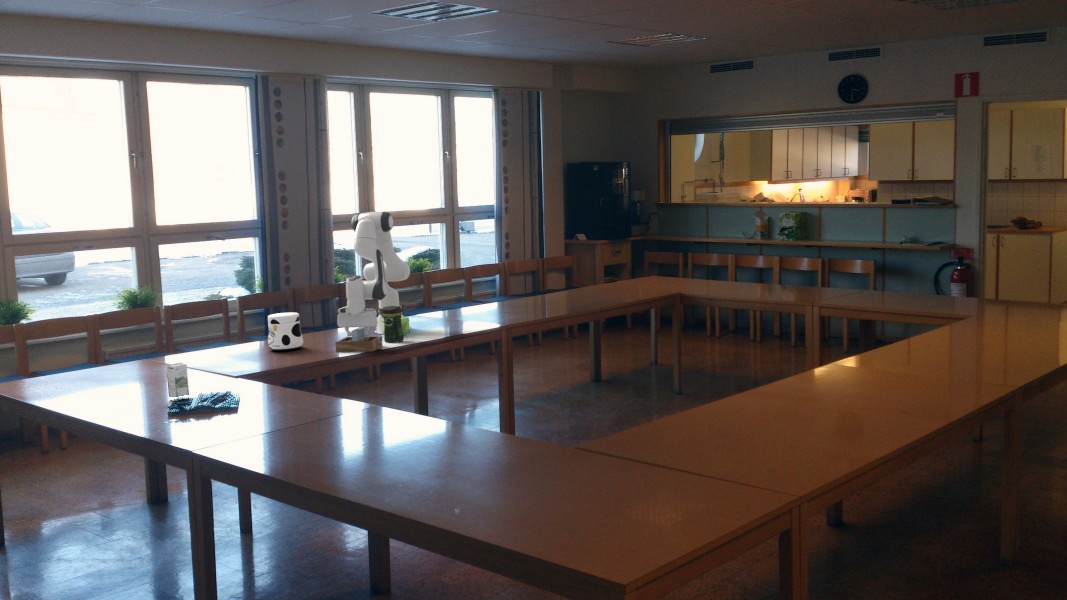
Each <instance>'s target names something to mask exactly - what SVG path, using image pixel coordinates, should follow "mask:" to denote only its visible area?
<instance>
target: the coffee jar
mask: <svg viewBox="0 0 1067 600" xmlns="http://www.w3.org/2000/svg"><path fill="white" fill-rule="evenodd" d="M400 306H401V305H399V306H387V307H383V312H382V313H383V314H382V315H383V318H384V334H383V335H384V336H383V338H384V340H383V341H384V342H385V343H401V342H403V341H404V340H405V339H404V338H405V336H403V331H402V324H401V315H403V312H402V309H401V307H400Z"/></svg>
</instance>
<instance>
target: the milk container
mask: <svg viewBox="0 0 1067 600" xmlns="http://www.w3.org/2000/svg"><path fill="white" fill-rule="evenodd" d="M267 325H268V326H267V327H268V337H267V343H268V348H269V349H270V350H272V351H275V352H276V351H277V352H284V351H285V352H286V351H287V350H288V351H294V350H298V349H300V348H301V347H303V344H304V337H303V334H302V331H301V322H300V313H299V312H280V313H279V312H278V313H273V314H269V315H267Z"/></svg>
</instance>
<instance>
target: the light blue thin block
mask: <svg viewBox="0 0 1067 600" xmlns="http://www.w3.org/2000/svg"><path fill="white" fill-rule="evenodd" d="M365 329H366V328H365V327H356V329H353V330H351V333H352V336H351V337H352V341H361V340H363V339H365V337H366V336H365V335H366V334H365V333H366V330H365Z"/></svg>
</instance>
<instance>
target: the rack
mask: <svg viewBox="0 0 1067 600" xmlns="http://www.w3.org/2000/svg"><path fill="white" fill-rule="evenodd" d="M334 344H335V352H336V353H346V352H347V353H348V352H349V353H353V352H355V353H357V352H358V353H360V352H361V353H362V352H363V353H365V352H370V353H371V352H374V351H376V350H378V349H380V348H382V347H383V336H381V335H380V336H379V335H378V336H365V339H363V340H361V341H352V336H345V337H343V338H341V339H339V340H336V341H335V342H334Z"/></svg>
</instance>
